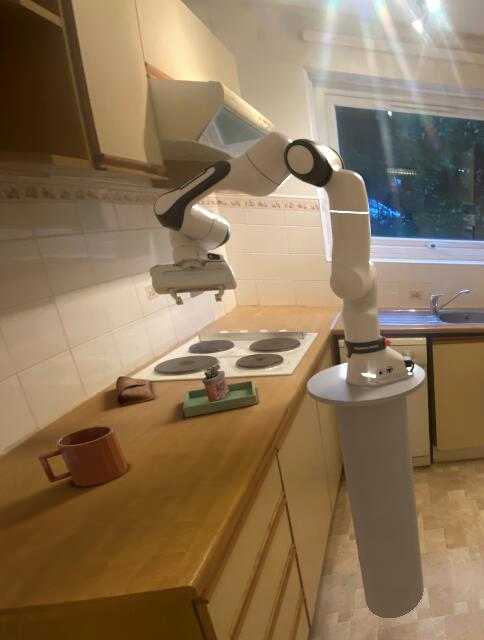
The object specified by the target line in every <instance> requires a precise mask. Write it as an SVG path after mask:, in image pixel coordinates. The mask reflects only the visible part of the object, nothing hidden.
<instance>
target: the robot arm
mask: <svg viewBox="0 0 484 640" xmlns="http://www.w3.org/2000/svg"><path fill="white" fill-rule="evenodd" d="M291 176H293V177H295V178H296V179H297V180H300V181H301V182H303V183H305V184H308V185H312V186H314V187H316V188H320V189H321V188H323V190H324V191H325V192H326V195H327V198H328V206H329V217H330V225H331V226H330V229H331V238H332V241H331V242H332V243H331V244H332V245H331V261H330V263H331V264H330V265H331V266H330V268H331V270H330V277H329V286H330V289H331V291H332V292H333V294H334V295H335V296H336V297H338V298H339V299H341V300H343V301H342V312H341V320H342V327H343V333H344V339H343V342H344V345H343V347H344V352H345V356H346V363H347V376H346V382H348V383H349V384H352V385H360V386H369V387H377V386H381V385H385V384H388V383H392V382H396V381H399V380H403V379H407V378H410V377H413V376H414V371H413V369H414V364H415V362H414V361H413V360H412V358H411V355H405V356H403V355H402V354H401V353H400V352H398V351H397V350H395V349H393V348H392V347H390V346H391V345H392V340H391V339H389V338H388V337H385V336H383V335H381V330H380V329H381V328H380V320H379V281H378V279H379V278H378V277H379V276H378V275H379V274H378V270H377V267H376V266H375V265H374V263H372V262H371V261H370V258H371V244H372V231H371V229H372V228H371V216H370V206H369V197H368V193H367V189H366V184H365V181H364V179H363V177H362V176H361V175H360V174H359V173H358V172H355V171H353V170H350V169H346V166H345V162H344V160H343V157H342V156H341V155H340V154H339V152H338V151H336V150H335V149H333V147H330V146H327V145H325V144H324V143H322V142H319V141H316V140H311V139H308V138H297V139H294V140H292V138H290V137H289V136H288V135H286V134H284V133H282V132H279V131H272V132H269V133H268V134H266V135H265V136H263V137H261V138H260V139H258V140H257V141H256V142H254V144H252V145H251V146H250V147H249V148H248V149H247V150H246V151H245V152H244V153H243V154H241V155H239V156H237V157H235V158H232V159H227V160H224V159H220V160H216V161H214V162H212V163H211V164H209V165H207V166H206V167H204V168H203V169H202V170H200V171H199V172H197V173H196V174H194V175H193V176H192V177H190V178H188V179H187V180H185V181H184V182H182V183H181V184H180V185H179V186H177V187H175V188H173V189H172V190H169V191H166V192H164V193H162V194H160V195H159V197H158V198H157V199H156V200H155V202H154V205H153V214H154V216H155V217H156V219H157V221H158V222H159V224H160V225H161V226H162V228H166V229H169V232H168V233H169V242H170V247H172V249H173V250H172V260H173V263H167V264H155V265H154V266H152V267H150V268H149V275H150V277H151V285H152V288H153V290H154V292H155V293H156V294H157V295H170V297H171V298H173V299H174V301H175V304H176V305H177V306H181V305H183V306H184V300H183V297H182V296H178V294H188V293H201V292H213V291H214V292H216V291H217V293H214V299H215V301H216V302H218V303H219V302H223V299H222V297H223V296H224V294H225V291H229V290H230V291H231V290H236V289H237V287H238V284H237V279H236V277H235V273H234V271H233V269H232V267H231V265H229V263H228V261H227V259H226V257H225V255H223V254H220V253H216V252H209V251H213V250H216V249H217V248H220V247H222V246H224V245H225V244H227V243H228V241H229V240H230V237H231V226H230V223H229V221H228V219H227V218H226V217H225V216H223V215H221V214H219V213H217V212H215V211H213V210H211V209H209V208H207V207H205V206H203V205H201V204H200V202H201V201H203V200H204V199H205V198H207V197H208V196H210V195H211V194H213V193H215V192H219V191H231V192H236V193H241V194H244V195H248V196H253V197H267V196H270V195H272V194H273V193H275V192H276V191H277V190H278V189H279V188H280V187H281V186H282V185H283V184H285V182H286V181H287V180H288V179H289V178H291ZM411 367H412V368H411Z"/></svg>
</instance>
